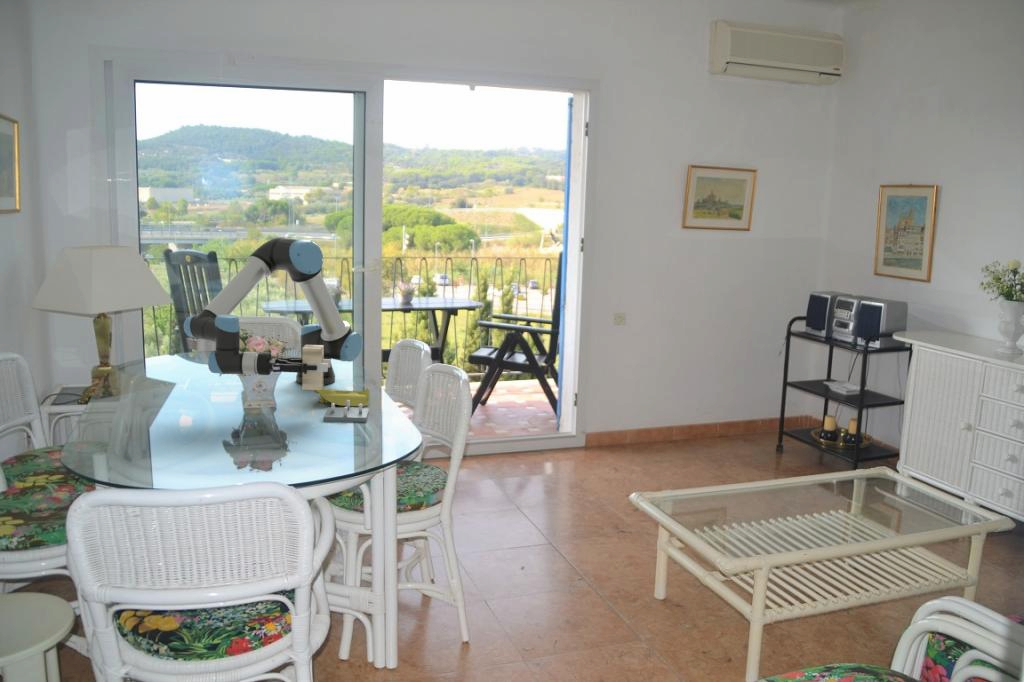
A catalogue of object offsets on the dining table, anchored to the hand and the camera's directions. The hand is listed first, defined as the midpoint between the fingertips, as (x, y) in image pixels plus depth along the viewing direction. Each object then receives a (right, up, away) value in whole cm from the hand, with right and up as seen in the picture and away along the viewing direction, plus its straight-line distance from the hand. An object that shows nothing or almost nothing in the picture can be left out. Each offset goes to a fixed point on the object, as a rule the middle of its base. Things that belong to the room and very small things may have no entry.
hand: (328, 365), depth 272 cm
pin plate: (+5, -18, +5) cm, 19 cm away
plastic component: (-1, -14, +23) cm, 27 cm away
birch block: (-5, -7, +1) cm, 9 cm away
